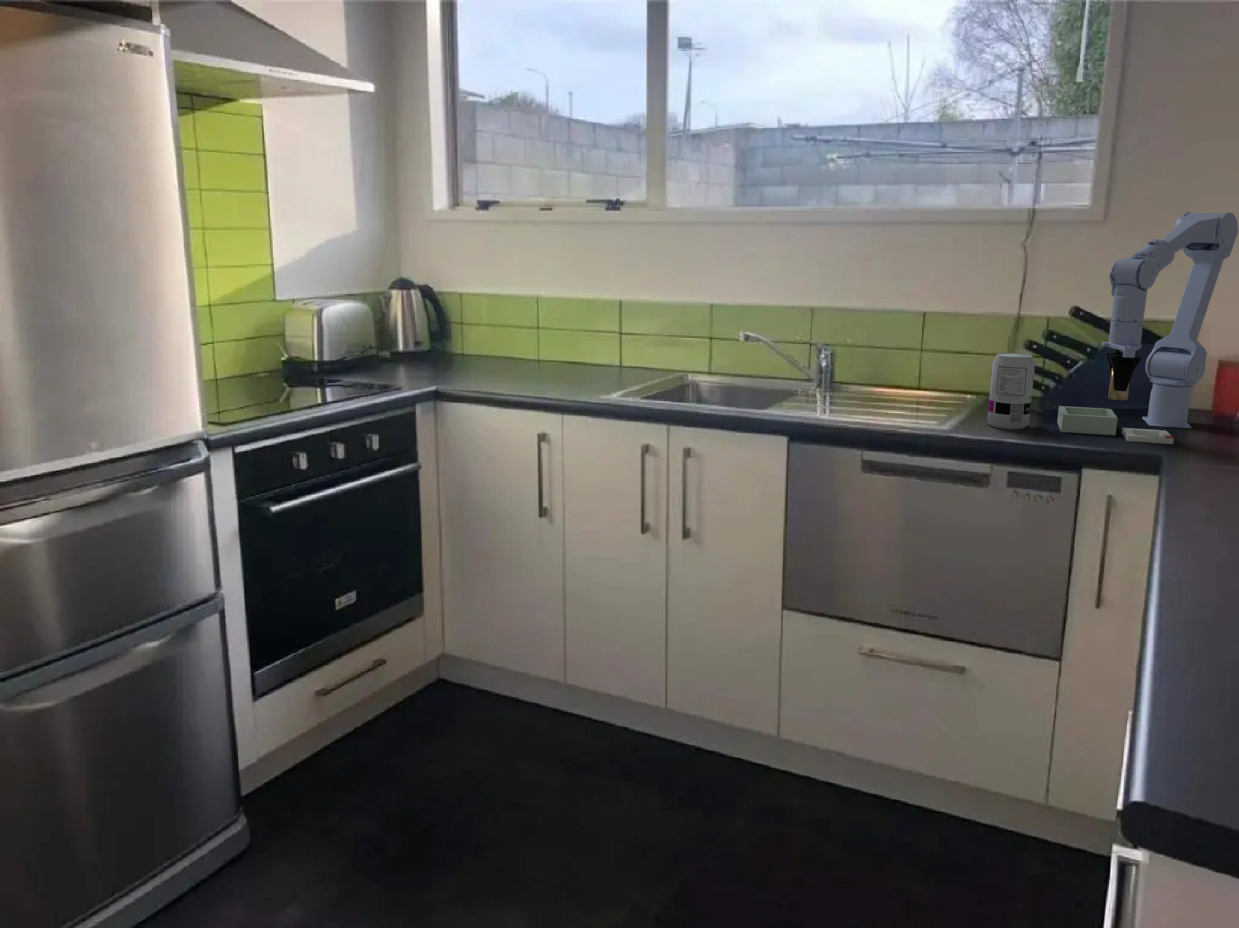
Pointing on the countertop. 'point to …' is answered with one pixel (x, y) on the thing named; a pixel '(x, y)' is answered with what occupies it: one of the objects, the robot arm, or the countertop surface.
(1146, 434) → the white square recessed tray
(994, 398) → the supplement can
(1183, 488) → the countertop surface
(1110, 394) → the cell
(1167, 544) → the countertop surface
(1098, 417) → the grey-green square tray
